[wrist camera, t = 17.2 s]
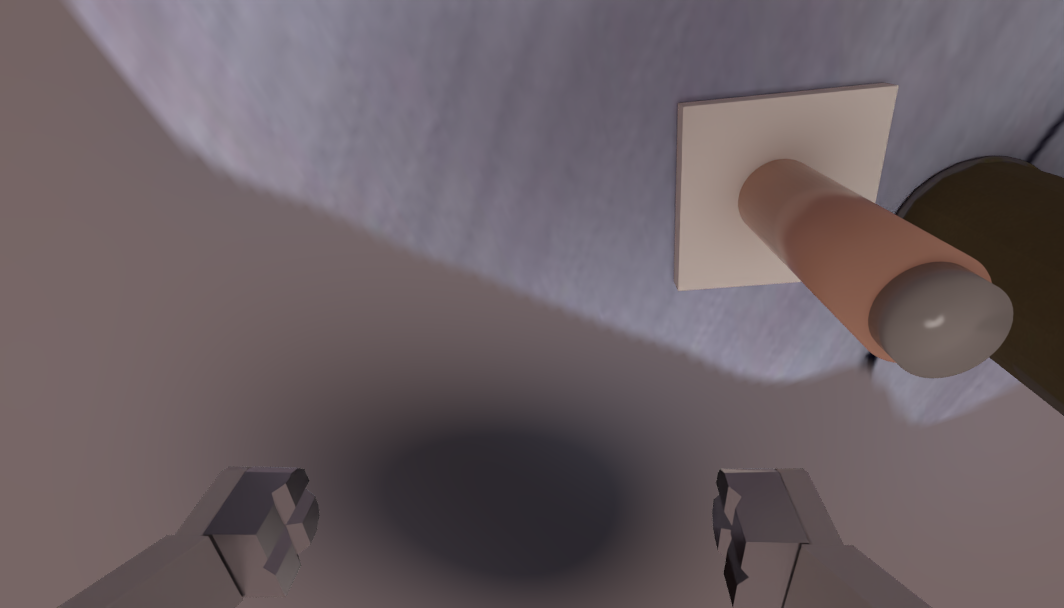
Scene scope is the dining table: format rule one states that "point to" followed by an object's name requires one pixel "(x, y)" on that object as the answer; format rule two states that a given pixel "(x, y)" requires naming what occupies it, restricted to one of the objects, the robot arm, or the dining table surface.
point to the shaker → (878, 271)
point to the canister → (1008, 254)
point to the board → (751, 141)
